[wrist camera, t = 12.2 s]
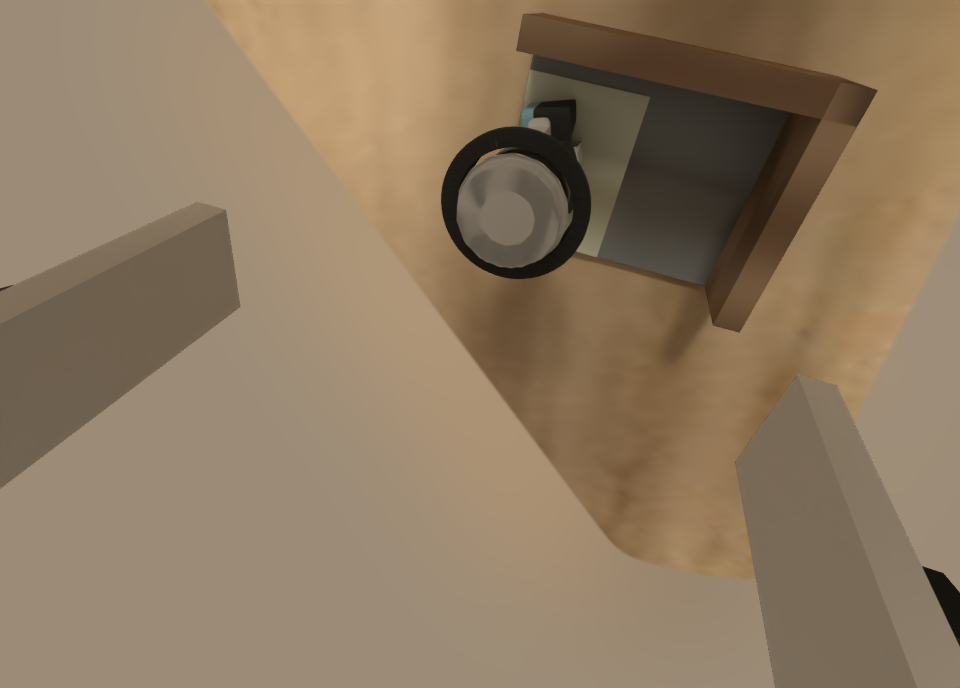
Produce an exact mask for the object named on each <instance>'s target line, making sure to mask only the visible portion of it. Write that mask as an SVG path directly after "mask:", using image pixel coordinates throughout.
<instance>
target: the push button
mask: <svg viewBox="0 0 960 688" xmlns="http://www.w3.org/2000/svg"><path fill="white" fill-rule="evenodd" d="M575 123H576V99H570V100H558V101H545V102H533V103H530V104H529V105H528V106H527V107H525V108H524V109H523V111H522V126H523V127H503V128H498V129H494V130H491V131H488V132H486V133H484V134H482V135H480V136H478V137H477V138H475V139H474V140H472V141H471V142H470V143H468V144H467V145H466V146H465V147H464V148H463V149H462V150H461V151H460V152H459V153H458V154H457V155H456V157H455V158H454V159H453V161H452V163H451V164H450V166H449V168H448V170H447V173H446V175H445V178H444V182H443V186H442V193H441V205H442V214H443V218H444V222H445V225H446V228H447V230H448V233H449V235H450V237H451V239H452V240H453V242H454V243H455V245H456V246H457V248H458V249H459V250H460V251H461V252H462V254H463V255H464V256H465V257H466V258H468V259H469V260H470V261H471V262H472V263H474V264H475V265H476V266H478V267H480V268H481V269H483V270H485V271H487V272H489V273H492V274H494V275H497V276H501V277H505V278H512V279H527V278H534V277H538V276H541V275H544V274H547V273H549V272H551V271H553V270H555V269H557V268H558V267H560V266H561V265H563V264H564V263H565V262H566V261H567V260H568V259H569V258H571V256H572V255H573V254H574V253H575V252H576V250H577V249H578V247H579V246H580V244H581V243H582V241H583V239H584V236H585V234H586V231H587V228H588V224H589V221H590V215H591V193H590V188H589V184H588V180H587V178H586V175H585V173H584V170H583V169H582V167H581V165H582V141H580V142H579V144H578V147H573V146H572V133H573V130H574V126H575ZM501 148H505V149H503V150H501V151H500V152H499V153H498V154H497V155H494V156H491V157H488V158H487V159H485V160H484V161H482V162H481V163H479V164H478V165H476V163H477V162H478V160H479V159H480V158H481V156H483V155H485V154H487V153H489V152H491V151H494V150H497V149H501ZM475 165H476V166H475ZM572 210H573V216H572V221H571V223H570V225H569V226H568V228H567V229H566V227H567V222H568V213H571V212H572Z"/></svg>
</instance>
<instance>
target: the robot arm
mask: <svg viewBox="0 0 960 688" xmlns="http://www.w3.org/2000/svg"><path fill="white" fill-rule="evenodd" d="M239 307H240V301H239V294H238V288H237V281H236V274H235V268H234V261H233V254H232V247H231V240H230V234H229V227H228V220H227V213H226V210H224V209H221V208H218V207H214V206H210V205H207V204H204V203H200V202H196V203H193V204H191V205H189V206H187V207H185V208H183V209H180V210H178V211H176V212H174V213H171V214H170V215H167V216H165V217H163V218H160V219H158V220H156V221H154V222H152V223H149V224H147V225H145V226H143V227H141V228H139V229H137V230H134V231H132V232H130V233H128V234H125V235H123V236H121V237H119V238H117V239H114V240H112V241H110V242H108V243H106V244H103V245H101V246H99V247H97V248H95V249H92V250H90V251H88V252H86V253H84V254H81V255H79V256H77V257H75V258H73V259H71V260H68V261H66V262H64V263H62V264H59V265H57V266H55V267H53V268H51V269H48V270H46V271H44V272H42V273H40V274H37V275H36V276H33V277H31V278H29V279H26V280H24V281H22V282H20V283H18V284H16V285H12V286H8V287H4V288H0V488H2V487H3V486H5V485H6V484H7V483H8V482H10V481H11V480H12V479H14V478H15V477H16V476H18V475H19V474H20V473H22V472H23V471H24V470H26V469H27V468H28V467H30V466H31V465H32V464H34V463H35V462H36V461H38V460H39V459H40V458H41V457H43V456H44V455H45V454H47V453H48V452H49V451H51V450H52V449H53V448H55V447H56V446H57V445H59V444H60V443H61V442H63V441H64V440H65V439H66V438H68V437H69V436H70V435H72V434H73V433H74V432H76V431H77V430H78V429H80V428H81V427H82V426H83V425H85V424H86V423H87V422H89V421H90V420H92V419H93V418H94V417H96V416H97V415H98V414H99V413H101V412H102V411H103V410H105V409H106V408H107V407H109V406H110V405H111V404H113V403H114V402H115V401H117V400H118V399H119V398H120V397H122V396H123V395H125V394H126V393H127V392H129V391H130V390H131V389H133V388H134V387H135V386H136V385H138V384H139V383H140V382H142V381H143V380H144V379H146V378H147V377H148V376H149V375H151V374H152V373H154V372H155V371H156V370H157V369H159V368H160V367H162V366H163V365H164V364H166V363H167V362H168V361H169V360H171V359H172V358H173V357H175V356H176V355H177V354H179V353H180V352H181V351H183V350H184V349H185V348H186V347H188V346H189V345H190V344H192V343H193V342H195V341H196V340H197V339H199V338H200V337H201V336H203V335H204V334H205V333H206V332H208V331H209V330H210V329H212V328H213V327H214V326H216V325H217V324H218V323H219V322H221V321H222V320H224V319H225V318H226V317H228V316H229V315H230V314H232V313H233V312H234V311H235V310H237V309H238V308H239ZM735 463H736V469H737V475H738V480H739V486H740V492H741V497H742V503H743V509H744V514H745V520H746V526H747V531H748V537H749V542H750V548H751V554H752V559H753V565H754V571H755V576H756V582H757V587H758V593H759V599H760V605H761V610H762V616H763V621H764V627H765V633H766V638H767V644H768V650H769V656H770V661H771V667H772V672H773V677H774V684H775V688H960V593H959V591H958V590H957V589H956V588H955V586H954V585H953V584H952V583H951V582H950V580H949V579H948V578H947V577H946V576H945V575H944V574H943V573H941V572H938V571H935V570H932V569H929V568H926V567H923V566H921V564H920V562H919V559H918V557H917V556H916V553H915V551H914V549H913V547H912V544H911V542H910V541H909V538H908V536H907V534H906V532H905V530H904V527H903V526H902V523H901V521H900V519H899V517H898V515H897V513H896V510H895V508H894V506H893V504H892V502H891V500H890V498H889V496H888V493H887V492H886V489H885V487H884V485H883V483H882V481H881V479H880V476H879V474H878V472H877V470H876V468H875V466H874V464H873V462H872V459H871V457H870V455H869V453H868V451H867V449H866V447H865V445H864V443H863V440H862V438H861V436H860V434H859V432H858V430H857V428H856V425H855V423H854V421H853V419H852V417H851V415H850V413H849V411H848V408H847V406H846V404H845V402H844V400H843V398H842V396H841V394H840V391H839V389H838V387H837V385H834V384H830V383H827V382H823V381H820V380H816V379H813V378H809V377H806V376H802V375H799V374H797V376H796V377H795V379H794V380H793V381H792V383H791V384H790V386H789V387H788V388H787V390H786V391H785V393H784V394H783V395H782V397H781V398H780V400H779V401H778V402H777V404H776V405H775V407H774V408H773V409H772V411H771V412H770V414H769V415H768V416H767V418H766V419H765V421H764V422H763V423H762V425H761V426H760V428H759V429H758V431H757V432H756V433H755V435H754V436H753V438H752V439H751V440H750V442H749V443H748V445H747V446H746V447H745V449H744V450H743V452H742V453H741V454H740V456H739V457H738V459H737V460H736V461H735Z"/></svg>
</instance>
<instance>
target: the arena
mask: <svg viewBox="0 0 960 688" xmlns="http://www.w3.org/2000/svg"><path fill="white" fill-rule="evenodd" d="M516 51H520V52H525V53H529V54H533V58H532V63H531V68H530V72H529V77H528V82H527V87H526V92H525V97H524V102H523V107H522V111H523V109H524V108H525V107H527V106H528V105H529V104H530V103H533V102H545V101H558V100H570V99H576V123H575V126H574V130H573V133H572V146H573V147H578V144H579V142H580V141H582V165H581V167H582V169H583V170H584V173H585V175H586V178H587V180H588V184H589V188H590V193H591V215H590V221H589V224H588V228H587V231H586V234H585V236H584V239H583V241H582V243H581V244H580V246H579V247H578V249H577V250H576V252H579V253H583V254H586V255H590V256H594V257H599V258H603V259H606V260H610V261H614V262H617V263H621V264H625V265H628V266H632V267H636V268H639V269H643V270H647V271H651V272H654V273H658V274H662V275H665V276H669V277H673V278H676V279H680V280H684V281H687V282H691V283H695V284H698V285H702V286H705V290H706V294H707V299H708V304H709V309H710V313H711V318H712V323H713V325H714V326H717V327H721V328H724V329H728V330H732V331H735V332H740V331H741V329H742V327H743V325H744V324H745V322H746V320H747V318H748V317H749V315H750V313H751V311H752V310H753V308H754V306H755V304H756V303H757V301H758V299H759V297H760V296H761V294H762V292H763V290H764V289H765V287H766V285H767V283H768V282H769V280H770V278H771V276H772V275H773V273H774V271H775V269H776V268H777V266H778V264H779V262H780V261H781V259H782V257H783V255H784V254H785V252H786V250H787V248H788V247H789V245H790V243H791V241H792V240H793V238H794V236H795V234H796V233H797V231H798V229H799V227H800V226H801V224H802V222H803V220H804V219H805V217H806V215H807V213H808V212H809V210H810V208H811V206H812V205H813V203H814V201H815V199H816V198H817V196H818V194H819V192H820V191H821V189H822V187H823V185H824V184H825V182H826V180H827V178H828V177H829V175H830V173H831V171H832V170H833V168H834V166H835V164H836V163H837V161H838V159H839V157H840V156H841V154H842V152H843V150H844V149H845V147H846V145H847V143H848V142H849V140H850V138H851V136H852V135H853V133H854V131H855V129H856V128H857V126H858V124H859V122H860V121H861V119H862V117H863V115H864V114H865V112H866V110H867V108H868V107H869V105H870V103H871V101H872V100H873V98H874V96H875V94H876V92H877V91H878V90H875V89H872V88H870V87H867V86H864V85H861V84H858V83H855V82H852V81H849V80H847V79H844V78H841V77H838V76H833V75H829V74H824V73H819V72H815V71H810V70H805V69H801V68H796V67H791V66H787V65H782V64H777V63H773V62H768V61H763V60H759V59H754V58H749V57H744V56H740V55H735V54H730V53H726V52H721V51H716V50H712V49H707V48H702V47H698V46H693V45H688V44H684V43H679V42H674V41H670V40H665V39H660V38H656V37H651V36H646V35H642V34H637V33H632V32H628V31H623V30H618V29H614V28H609V27H604V26H600V25H595V24H590V23H586V22H581V21H576V20H571V19H567V18H562V17H557V16H553V15H548V14H543V13H539V14H523V17H522V22H521V27H520V33H519V38H518V44H517V49H516ZM519 127H523V126H522V112H521V117H520V122H519ZM572 216H573V210H572V212H571V213H568V222H567V227H566V229H567V228H568V226H569V225H570V223H571V221H572Z"/></svg>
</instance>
